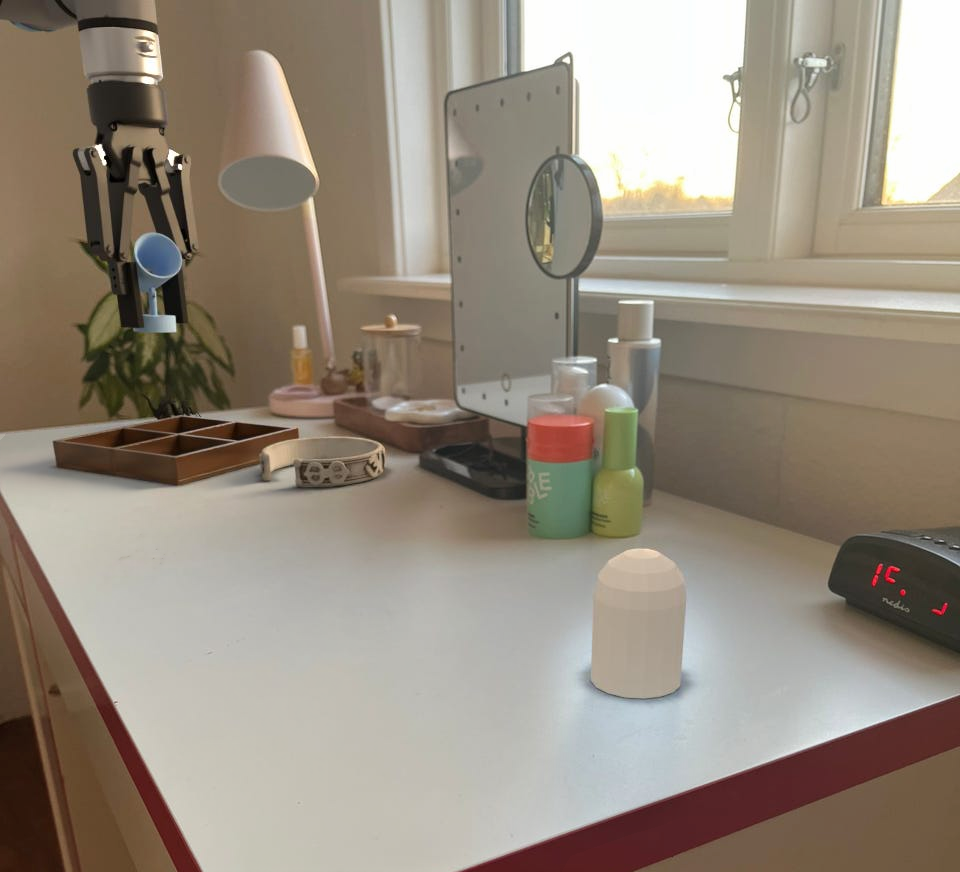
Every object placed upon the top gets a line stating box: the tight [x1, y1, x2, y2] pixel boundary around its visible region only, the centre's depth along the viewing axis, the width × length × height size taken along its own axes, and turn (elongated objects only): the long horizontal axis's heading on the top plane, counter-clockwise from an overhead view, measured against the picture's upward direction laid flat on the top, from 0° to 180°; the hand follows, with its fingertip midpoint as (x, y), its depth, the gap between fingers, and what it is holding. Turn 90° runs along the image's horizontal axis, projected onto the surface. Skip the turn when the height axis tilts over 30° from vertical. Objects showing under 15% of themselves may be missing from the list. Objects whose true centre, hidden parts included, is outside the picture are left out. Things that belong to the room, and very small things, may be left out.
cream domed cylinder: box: [590, 548, 687, 700], centre depth 59 cm, size 5×5×8 cm
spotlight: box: [132, 232, 182, 334], centre depth 110 cm, size 5×10×7 cm
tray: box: [52, 415, 300, 486], centre depth 121 cm, size 20×20×3 cm
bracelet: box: [259, 435, 387, 488], centre depth 113 cm, size 14×14×3 cm
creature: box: [139, 391, 202, 420], centre depth 142 cm, size 8×5×8 cm
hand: (155, 324), depth 111 cm, fingers closed on spotlight, 6 cm apart
